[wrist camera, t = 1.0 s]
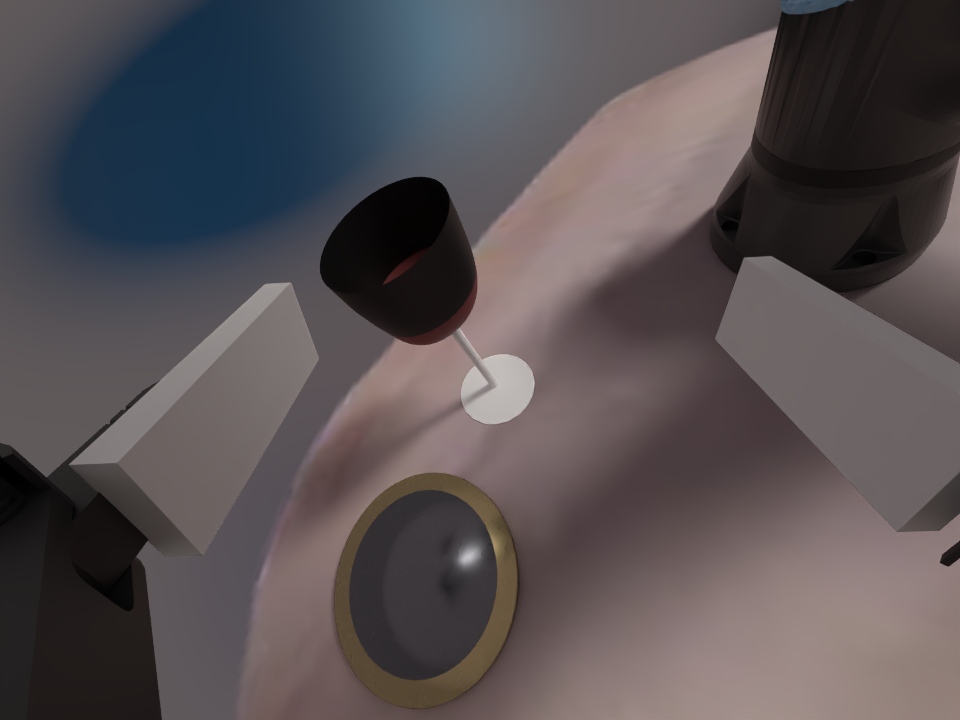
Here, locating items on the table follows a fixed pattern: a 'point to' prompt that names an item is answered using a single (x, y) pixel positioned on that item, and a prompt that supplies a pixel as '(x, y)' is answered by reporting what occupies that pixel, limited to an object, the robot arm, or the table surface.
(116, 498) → the robot arm
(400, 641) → the coaster
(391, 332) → the wineglass
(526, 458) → the table surface
